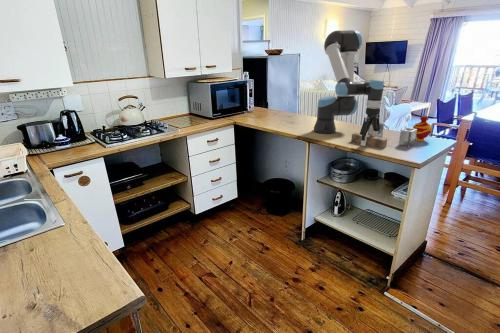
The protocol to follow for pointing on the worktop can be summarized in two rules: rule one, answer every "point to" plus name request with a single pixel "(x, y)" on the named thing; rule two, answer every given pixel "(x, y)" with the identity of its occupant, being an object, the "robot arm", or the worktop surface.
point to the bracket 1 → (379, 133)
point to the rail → (370, 140)
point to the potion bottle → (422, 129)
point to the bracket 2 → (408, 137)
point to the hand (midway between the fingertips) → (368, 143)
